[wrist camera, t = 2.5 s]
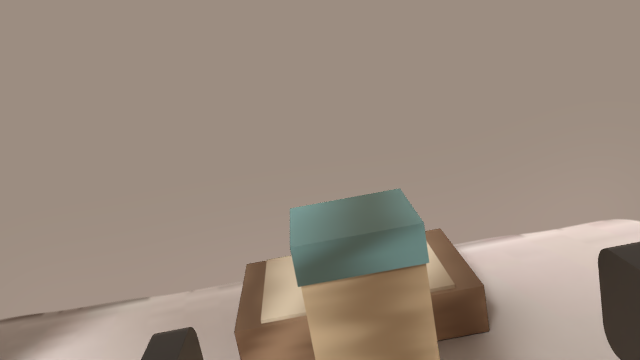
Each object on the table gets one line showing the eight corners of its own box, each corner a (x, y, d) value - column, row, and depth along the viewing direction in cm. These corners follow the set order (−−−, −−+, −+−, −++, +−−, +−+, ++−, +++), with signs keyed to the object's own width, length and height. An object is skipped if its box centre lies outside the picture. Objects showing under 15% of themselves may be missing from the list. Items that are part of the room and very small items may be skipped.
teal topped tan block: (342, 509, 24) (289, 247, 21) (333, 431, 28) (290, 208, 25) (461, 487, 24) (423, 222, 21) (433, 413, 28) (399, 188, 26)
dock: (244, 376, 34) (233, 328, 33) (254, 300, 44) (246, 261, 43) (489, 331, 34) (483, 282, 33) (445, 264, 44) (439, 225, 43)
